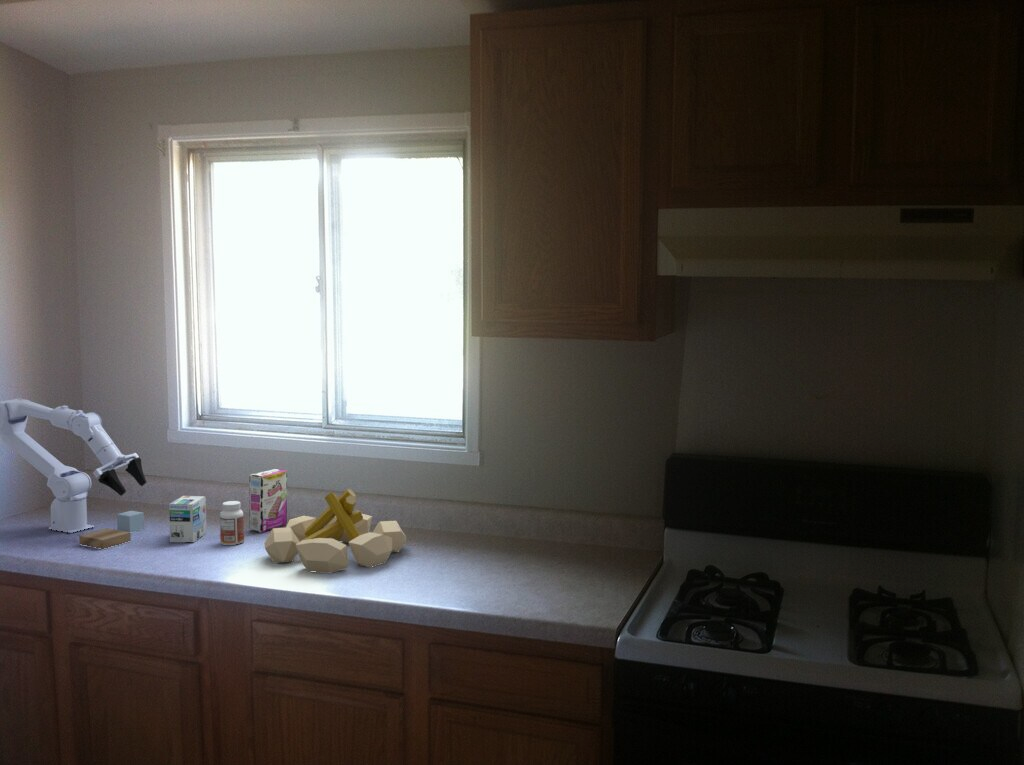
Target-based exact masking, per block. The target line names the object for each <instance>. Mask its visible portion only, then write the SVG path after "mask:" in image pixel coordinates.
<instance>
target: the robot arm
mask: <svg viewBox="0 0 1024 765" xmlns="http://www.w3.org/2000/svg"><path fill="white" fill-rule="evenodd" d="M28 417H32V418H37V419H43V420H48V421H50V423H51V425H52V426H54V427H57V428H60V429H65V430H68V431H72V433H73V434H74V435H75V436H77V437H80V438H81V439H82V440H83V441H85V443H86V444H87V446H88V447H89V448H90V449H91V451H92V452H93V454H94V455H95V456H96V458H97V459H98V461H99V462H100V463H101V465H102V466H100V467H98V468H96V469H95V470H93V472H92V474H93V475H94V477H95V478H96V479H98V482H99V483H100V484H102V485H104V486H107V487H109V488H111V489H112V490H113V491H114V492H116V493H117V494H118V495H119V496H121V497H122V496H123V495H124V494H125V493H126V492H127V489H126V488H125V487H124V485H123V484H122V482H121V480H120V479H119V477H118V474H117V472H116V470H119V469H120V468H123V467H125V466H126V465H127V468H125V469H124V470H125V471H126V472H127V473H129V475H131V477H132V478H134V480H135V481H136V483H137V484H139V486H141V487H143V486H144V485H145V484H146V483H147V479H146V477H145V474H144V471H143V467H142V459H141V458H140V456H139V455H138V454H137V452H134V453H130V454H126V455H125V454H123V453H122V452H121V451H120V449H119V448H118V446H117V445H116V443H115V442H114V441H113V439H112V438H111V437H110V436H109V434H108V433H107V431H106V430H105V428H104V427H103V420H102V418H101V416H100V414H98V413H96V412H94V411H90V412H87V413H85V412H84V410H81V409H78V410H75V409H72V408H69V406H68V405H65V404H64V405H61V406H57V407H55V408H51V407H48V406H47V405H43V404H40V403H36V402H33V401H31V400H29V399H23V398H20V397H16V398H12V399H8V400H2V401H0V438H1V440H2V441H3V442H4V443H5V444H6V445H7V446H9V447H10V448H11V449H12V450H13V451H14V452H15V453H17V454H18V455H19V456H20V457H22V458H23V460H25V461H26V462H28V463H29V464H30V465H31V466H32V467H34V468H35V469H36V470H37V471H38V472H40V474H42V475H43V476H44V477H46V478H47V482H46V486H47V487H48V488H49V489H50V491H51V492H52V494H53V496H54V497H55V498H54V499H53V500H52V501H51V504H50V526H49V527H48V530H51V529H52V531H56V530H57V531H58V532H61V531H63V532H62V533H67V532H68V534H73V532H74V533H78V532H81V531H84V529H85V530H88V528H89V529H92V527H93V528H95V525H92V524H88V515H87V514H88V513H87V510H88V509H87V496H88V493H89V492H90V491H91V488H92V486H93V485H92V479H91V477H90V475H88V473H86V472H84V471H80V470H78V469H77V468H75V467H72V466H70V465H69V466H68V465H66V464H63V462H61V461H59V460H58V459H57V458H56V457H55V455H53V454H51V453H50V452H49V451H48V450H47V449H45V447H43V446H42V445H40V444H39V443H38V442H37V441H36V440H35V439H33V438H32V437H31V436H30V435H29V434H28V433H26V432H25V430H26V428H27V423H28V419H29V418H28ZM80 530H81V531H80ZM77 531H78V532H77Z"/></svg>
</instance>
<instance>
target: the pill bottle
mask: <svg viewBox="0 0 1024 765" xmlns="http://www.w3.org/2000/svg"><path fill="white" fill-rule="evenodd" d="M241 506H242V505H241V501H238V500H230V501H229V500H228V501H224V502H222V511H220V513H219V528H220V529H219V533H220V537H219V538H220V544H221V543H222V545H223V544H226V545H225V546H236V544H238V545H241V544H242V543H244V542H245V524H244V523H245V521H244V518H245V517H244V512H243V510H242V509H241ZM240 543H241V544H240Z"/></svg>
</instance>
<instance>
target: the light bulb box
mask: <svg viewBox="0 0 1024 765" xmlns="http://www.w3.org/2000/svg"><path fill="white" fill-rule="evenodd" d="M206 501H207V498H206V496H199V495H197V496H196V495H182V496H180V497H179V498H177V499H175V500H173V501H172V502H171V503H169V504H168V506H169V508H168V510H169V543H185V542H194V541H195V542H196V541H198V540H199V539H201V538H202V537H203V536H205V535H206V534H207V505H206V503H207V502H206ZM205 533H206V534H205ZM204 534H205V535H204ZM201 536H202V537H201ZM200 537H201V538H200ZM197 539H198V540H197ZM195 542H194V543H195Z"/></svg>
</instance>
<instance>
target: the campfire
mask: <svg viewBox="0 0 1024 765" xmlns="http://www.w3.org/2000/svg"><path fill="white" fill-rule="evenodd" d="M335 493H336V492H333V491H332V492H330V493H328V494H327V495H325V497H324V499H325V502H326V503H327V505H328V507H327V508H326V509H325V510H324V511H323V512H322V513H321V514H320V515H319V516H318V517H317V518H316V517H313V516H307V515H302V516H298V517H294V518H291V519H289V520H288V521H287V525H285V526H286V527H278V528H273V529H272V530H270V532H269V534H268V536H267V537H266V540H265V541H264V550H265V552H266V553H267V554H268V556H269V557H270V559H271V560H272V562H273V563H275V562H278V564H279V563H280V562H282V563H291V562H293V561H294V559H295V558H296V556H297V554H298V557H299V561H300V563H301V564H302V565H303V567H304V568H305V569H306V571H307V572H309V571H316V572H315V573H320V572H335V573H336V572H339V571H342V570H344V569H347V568H349V566H350V565H349V557H348V556H349V555H348V546H349V548H350V551H351V553H352V555H353V558H354V561H355V563H356V565H357V566H360V565H362V566H361V567H364V566H366V567H365V568H369V567H372V566H375V565H377V566H379V565H378V564H380V563H383V564H385V563H384V562H386V563H387V561H388V559H389V557H390V555H391V554H392V553H391V552H398V551H401V550H402V548H403V546H404V544H405V542H406V540H407V536H406V535H405V533H404V531H403V530H402V527H401V526H400V525H399V523H398V522H397V520H383V521H382V520H381V521H379V522H378V523H377V525H376V526H375V528H374V529H373V531H372V532H371V531H370V528H371V524H372V519H373V516H372V515H368V514H365V513H362V512H361V511H360V510H359V509H356V510H354V509H355V506H356V504H357V500H356V493H355V492H354V491H353V490H352V489H351V488H347V489H346V490H345V491H344V492H343V493H341V495H339V497H337V495H336V494H335ZM353 510H354V511H353ZM339 541H344V542H339ZM347 542H348V543H347ZM345 543H347V544H348V546H347V544H345ZM398 553H399V552H398ZM292 560H293V561H292ZM290 561H291V562H290ZM380 565H381V564H380ZM375 567H376V566H375ZM372 568H373V567H372Z"/></svg>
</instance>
